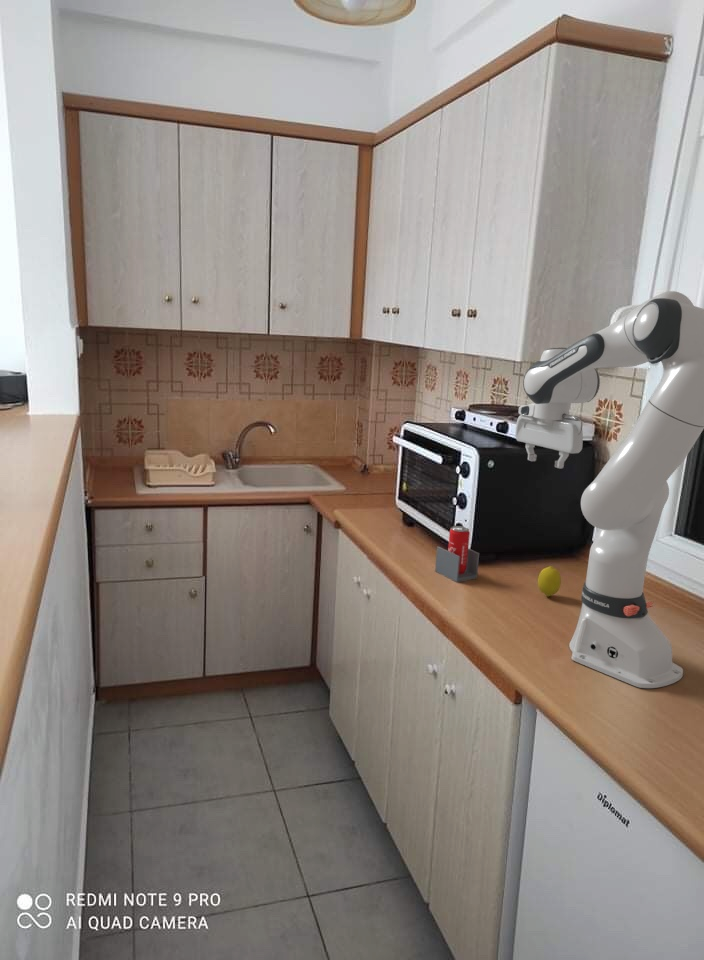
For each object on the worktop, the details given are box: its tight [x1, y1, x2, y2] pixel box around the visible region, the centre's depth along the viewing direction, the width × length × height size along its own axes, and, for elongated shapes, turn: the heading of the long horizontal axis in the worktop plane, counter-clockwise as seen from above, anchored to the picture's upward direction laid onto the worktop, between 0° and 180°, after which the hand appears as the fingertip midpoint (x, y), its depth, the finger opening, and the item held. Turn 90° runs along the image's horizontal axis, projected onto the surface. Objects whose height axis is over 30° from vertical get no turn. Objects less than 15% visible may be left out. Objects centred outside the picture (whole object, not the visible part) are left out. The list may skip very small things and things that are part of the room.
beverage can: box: [447, 525, 470, 574], centre depth 190 cm, size 5×5×12 cm
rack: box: [434, 546, 480, 583], centre depth 191 cm, size 9×7×7 cm
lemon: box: [537, 565, 562, 597], centre depth 179 cm, size 6×6×8 cm
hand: (545, 464), depth 186 cm, fingers open, 8 cm apart
